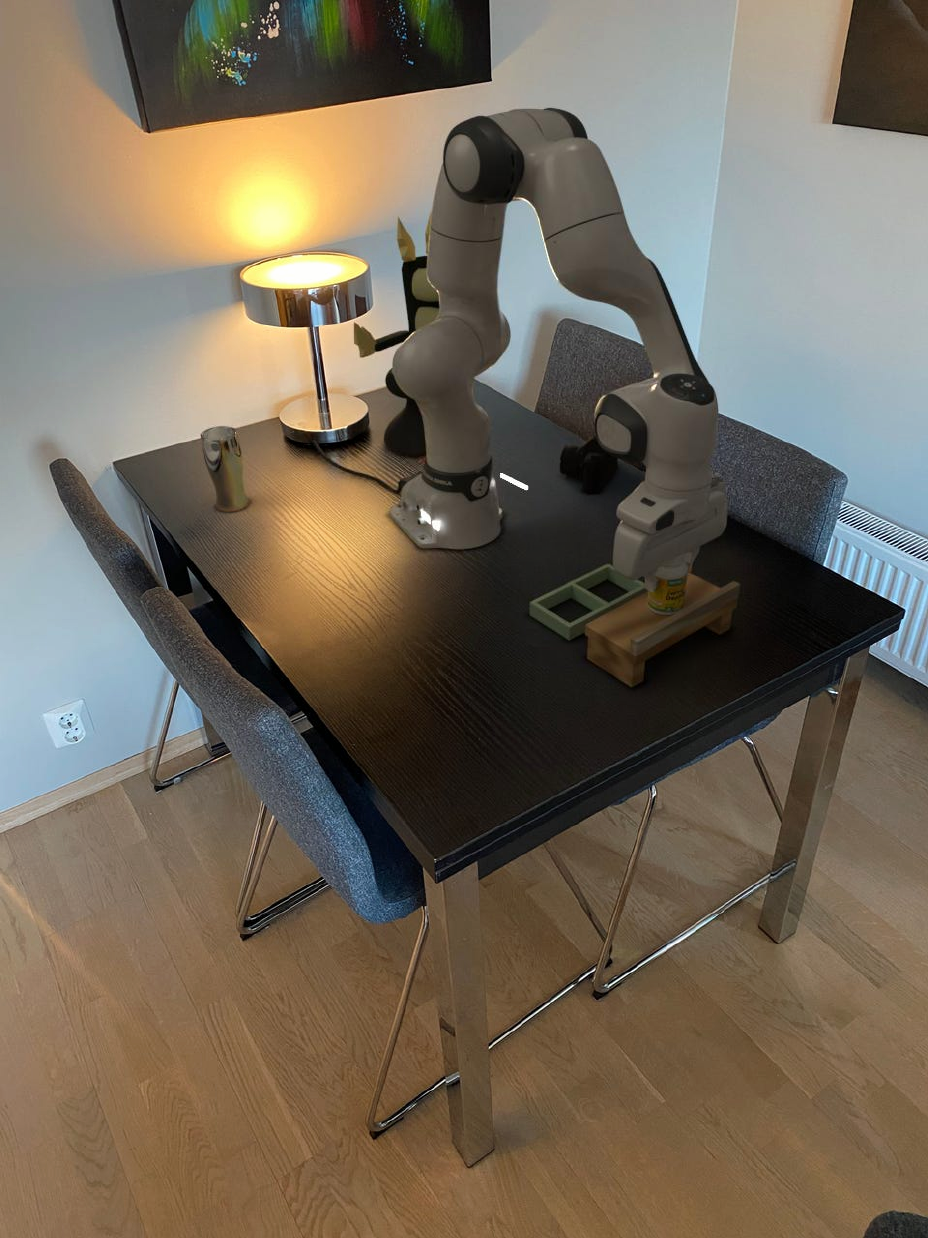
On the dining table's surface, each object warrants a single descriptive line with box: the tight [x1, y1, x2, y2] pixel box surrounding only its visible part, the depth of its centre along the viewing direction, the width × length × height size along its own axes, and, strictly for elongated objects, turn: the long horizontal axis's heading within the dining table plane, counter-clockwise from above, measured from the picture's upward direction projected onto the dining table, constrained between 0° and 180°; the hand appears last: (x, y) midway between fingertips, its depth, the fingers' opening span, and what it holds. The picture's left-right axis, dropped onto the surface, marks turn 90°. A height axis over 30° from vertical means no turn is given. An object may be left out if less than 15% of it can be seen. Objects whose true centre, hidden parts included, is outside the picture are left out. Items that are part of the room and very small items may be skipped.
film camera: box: [559, 435, 619, 495], centre depth 186 cm, size 15×10×9 cm, turn 155°
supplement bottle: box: [647, 554, 688, 615], centre depth 137 cm, size 5×5×10 cm
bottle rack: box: [529, 563, 648, 641], centre depth 150 cm, size 9×17×2 cm, turn 128°
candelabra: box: [353, 209, 440, 457], centre depth 193 cm, size 19×22×45 cm
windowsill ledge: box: [584, 572, 741, 688], centre depth 140 cm, size 10×22×8 cm, turn 128°
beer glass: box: [200, 425, 249, 513], centre depth 180 cm, size 7×7×15 cm
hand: (667, 580), depth 137 cm, fingers closed on supplement bottle, 5 cm apart
